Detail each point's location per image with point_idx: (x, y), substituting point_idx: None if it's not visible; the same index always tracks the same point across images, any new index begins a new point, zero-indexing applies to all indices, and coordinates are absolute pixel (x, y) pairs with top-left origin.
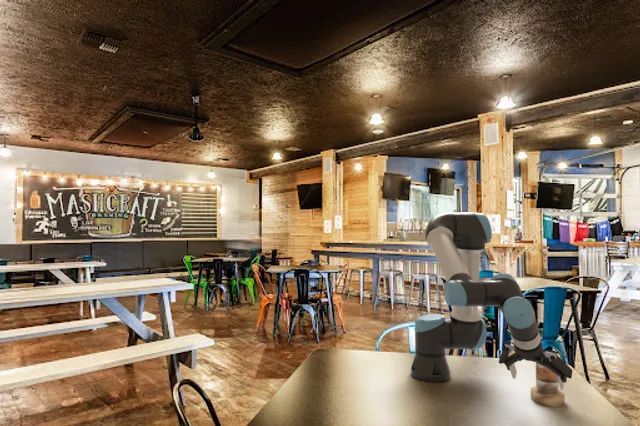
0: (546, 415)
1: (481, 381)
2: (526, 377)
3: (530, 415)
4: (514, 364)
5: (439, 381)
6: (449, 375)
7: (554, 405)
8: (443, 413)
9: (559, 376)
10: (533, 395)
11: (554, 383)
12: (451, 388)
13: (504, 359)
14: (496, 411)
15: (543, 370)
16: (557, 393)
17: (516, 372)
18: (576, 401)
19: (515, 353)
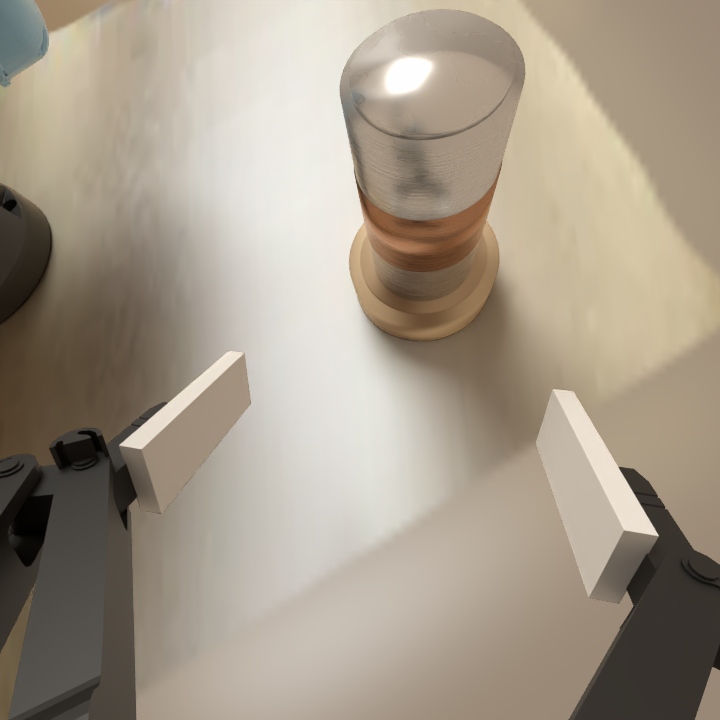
0: (431, 444)
1: (166, 215)
2: (325, 80)
3: (368, 483)
4: (187, 409)
5: (6, 316)
6: (32, 255)
7: (455, 330)
8: (13, 679)
9: (612, 590)
10: (365, 307)
11: (466, 255)
12: (53, 356)
13: (6, 623)
14: (230, 518)
15: (409, 230)
16: (470, 270)
17: (243, 365)
18: (529, 214)
19: (26, 684)
